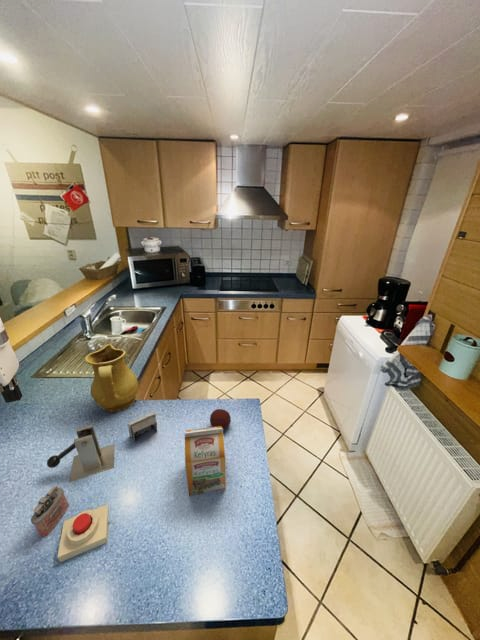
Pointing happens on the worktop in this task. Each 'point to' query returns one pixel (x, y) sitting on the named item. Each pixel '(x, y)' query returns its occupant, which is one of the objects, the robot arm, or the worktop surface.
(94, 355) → the pitcher
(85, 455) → the bracket
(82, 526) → the button
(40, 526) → the lighter
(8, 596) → the worktop surface
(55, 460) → the lever
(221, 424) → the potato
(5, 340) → the robot arm
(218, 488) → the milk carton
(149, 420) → the electrical switch
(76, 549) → the control box
